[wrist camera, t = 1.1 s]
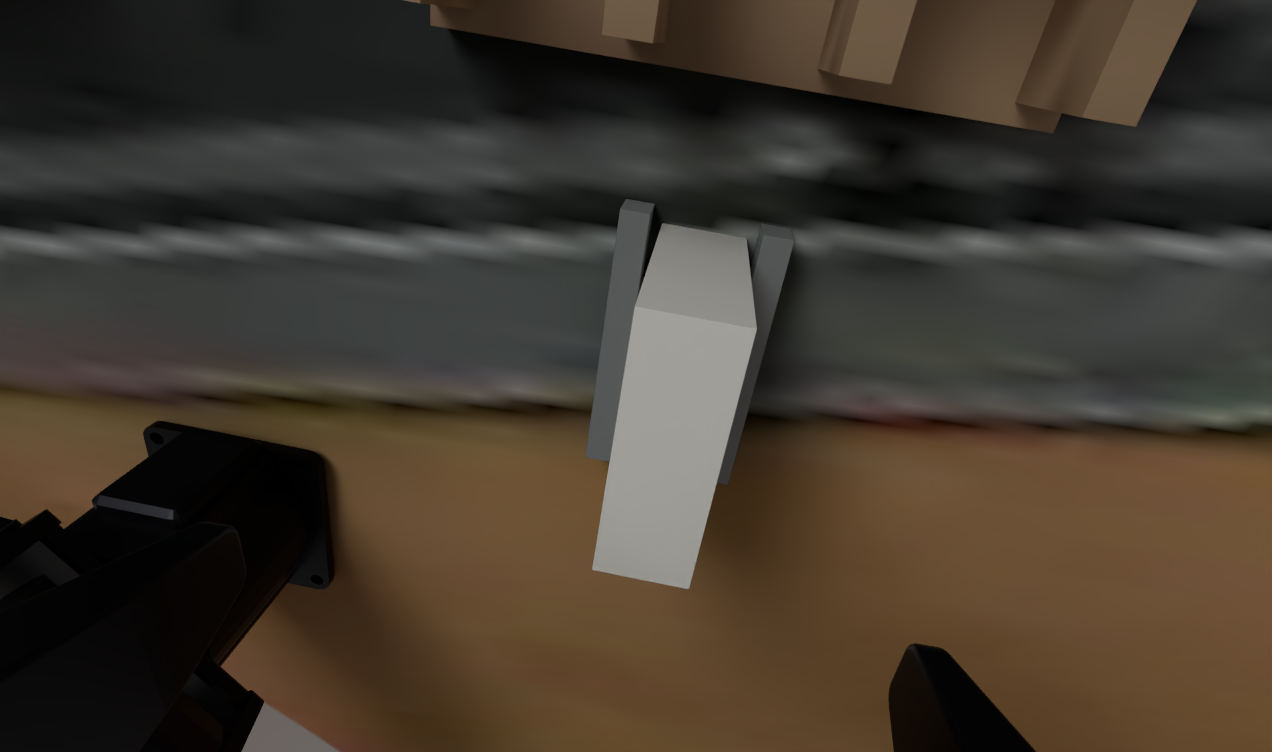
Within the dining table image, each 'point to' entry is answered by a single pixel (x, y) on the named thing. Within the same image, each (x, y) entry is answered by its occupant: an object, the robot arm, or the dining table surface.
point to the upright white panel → (676, 404)
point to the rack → (877, 47)
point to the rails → (619, 317)
